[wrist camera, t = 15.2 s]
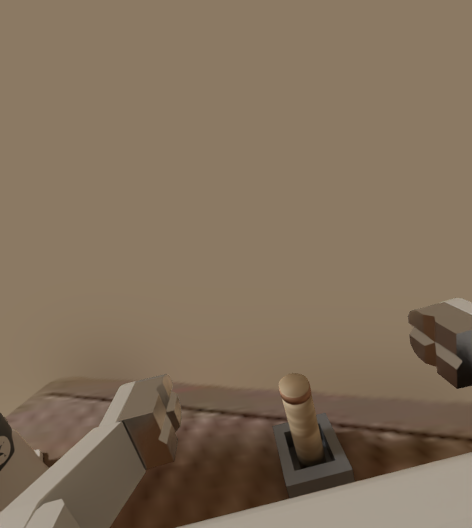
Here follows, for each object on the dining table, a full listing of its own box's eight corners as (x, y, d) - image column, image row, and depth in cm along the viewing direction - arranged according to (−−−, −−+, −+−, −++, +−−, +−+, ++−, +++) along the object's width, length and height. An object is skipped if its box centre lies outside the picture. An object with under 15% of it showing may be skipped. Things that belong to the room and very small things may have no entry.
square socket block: (292, 509, 31) (286, 486, 30) (277, 446, 38) (272, 426, 37) (356, 493, 31) (352, 469, 30) (329, 433, 38) (325, 412, 37)
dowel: (303, 479, 32) (282, 399, 29) (295, 452, 36) (275, 377, 33) (331, 472, 32) (313, 391, 29) (320, 445, 36) (303, 369, 33)
